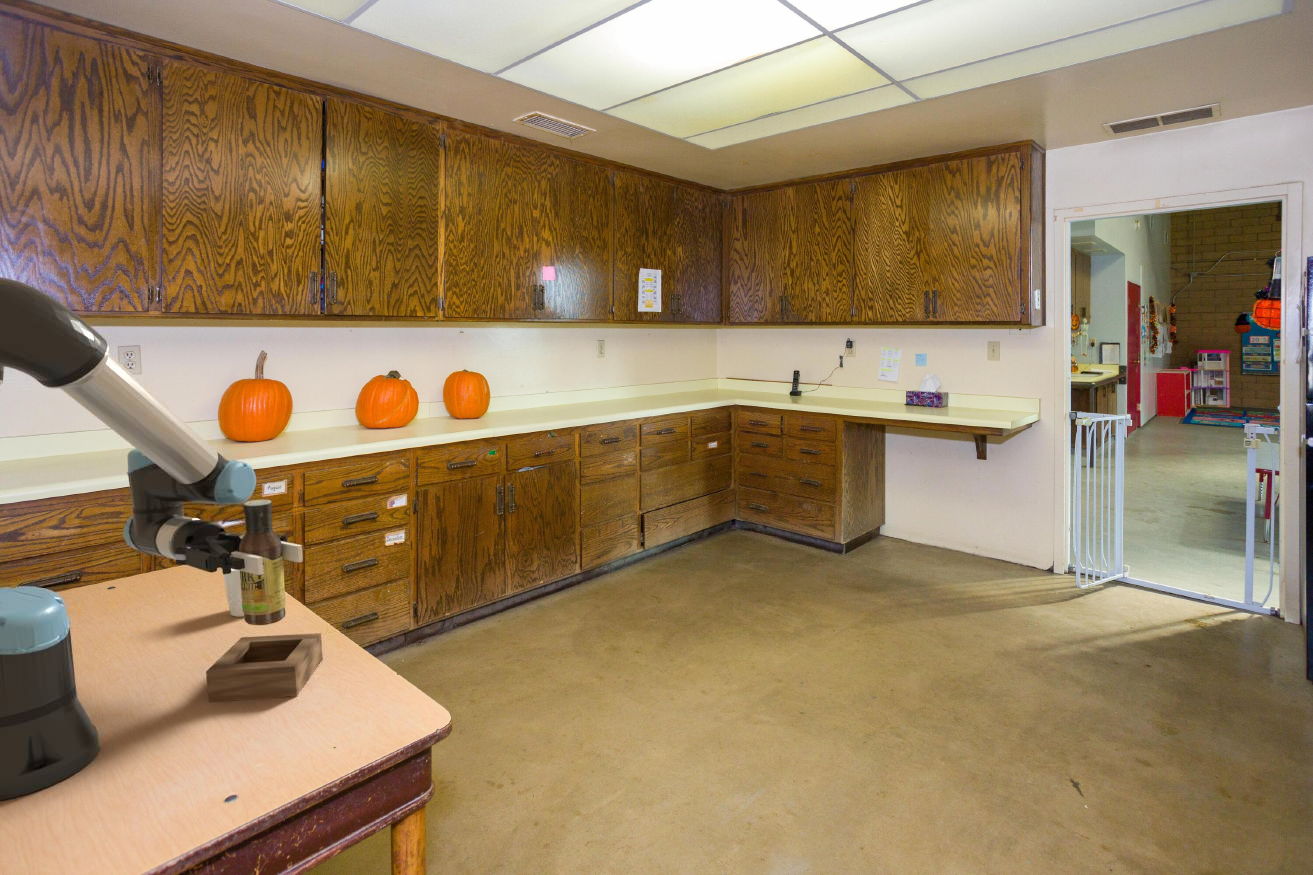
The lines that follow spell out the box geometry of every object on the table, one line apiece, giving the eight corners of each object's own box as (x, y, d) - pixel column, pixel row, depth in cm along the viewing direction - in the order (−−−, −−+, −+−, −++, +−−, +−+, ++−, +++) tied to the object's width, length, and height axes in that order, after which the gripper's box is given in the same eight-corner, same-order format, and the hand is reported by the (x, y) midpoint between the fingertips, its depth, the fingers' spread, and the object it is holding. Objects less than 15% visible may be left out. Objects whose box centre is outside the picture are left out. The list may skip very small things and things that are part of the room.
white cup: (249, 619, 147) (245, 571, 145) (217, 616, 149) (212, 568, 147) (278, 605, 154) (275, 559, 153) (247, 602, 156) (243, 557, 155)
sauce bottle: (235, 623, 119) (223, 503, 116) (269, 610, 124) (259, 495, 121) (262, 630, 116) (251, 507, 113) (296, 616, 122) (286, 499, 119)
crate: (297, 696, 116) (294, 666, 115) (208, 701, 114) (206, 671, 113) (322, 660, 128) (320, 632, 128) (243, 664, 127) (241, 637, 126)
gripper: (248, 547, 136) (333, 565, 125) (135, 578, 119) (224, 602, 108) (244, 507, 134) (330, 522, 124) (130, 533, 118) (219, 553, 107)
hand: (280, 559), depth 116 cm, fingers closed on sauce bottle, 6 cm apart
